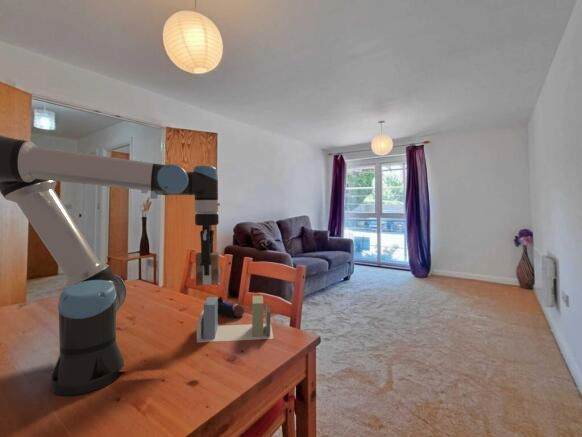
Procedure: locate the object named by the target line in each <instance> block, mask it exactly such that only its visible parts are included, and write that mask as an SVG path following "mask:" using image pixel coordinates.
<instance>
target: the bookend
mask: <svg viewBox="0 0 582 437" xmlns="http://www.w3.org/2000/svg"><path fill="white" fill-rule="evenodd" d="M265 324H266V332H267V336H270V324H271V308H270V303H269V302H266V303H265Z"/></svg>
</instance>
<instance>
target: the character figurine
mask: <svg viewBox="0 0 582 437" xmlns="http://www.w3.org/2000/svg"><path fill="white" fill-rule="evenodd" d="M244 313H245V306H244V305H243V304H241V303H234V304H233V303H228V302H226V300H223V298H222V296H219V297H218V315H221V316H225V317H228V318H232V319H236V318H240V317H242V316H243V315H244Z"/></svg>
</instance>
